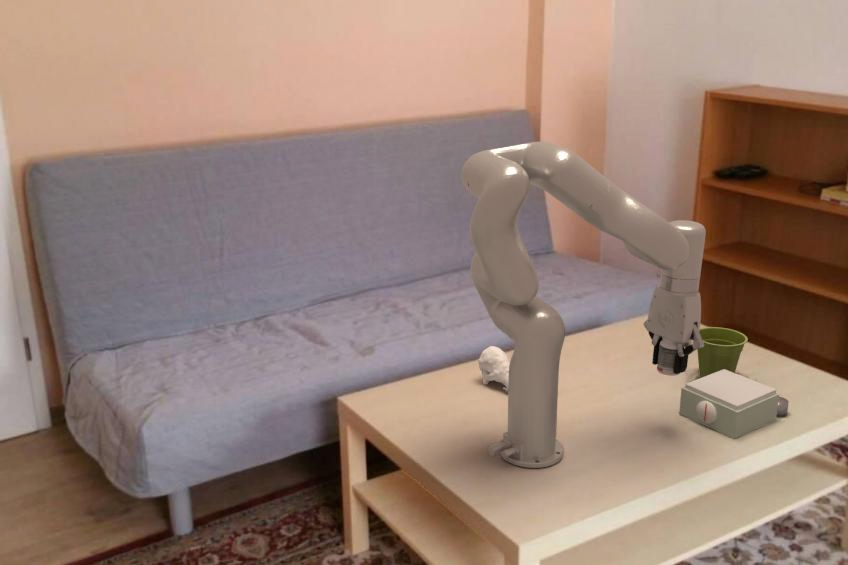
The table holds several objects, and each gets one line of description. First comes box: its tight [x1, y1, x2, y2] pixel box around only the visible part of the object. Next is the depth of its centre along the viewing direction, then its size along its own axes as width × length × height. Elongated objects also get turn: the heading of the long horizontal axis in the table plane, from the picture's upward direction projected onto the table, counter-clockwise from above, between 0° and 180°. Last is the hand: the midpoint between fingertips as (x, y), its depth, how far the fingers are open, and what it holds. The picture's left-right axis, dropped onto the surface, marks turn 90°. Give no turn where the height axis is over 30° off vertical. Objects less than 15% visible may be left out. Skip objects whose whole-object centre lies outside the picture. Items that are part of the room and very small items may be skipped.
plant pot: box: [696, 326, 749, 379], centre depth 204 cm, size 12×12×11 cm
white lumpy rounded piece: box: [477, 345, 510, 393], centre depth 203 cm, size 6×8×12 cm
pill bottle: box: [656, 337, 681, 377], centre depth 180 cm, size 5×5×8 cm
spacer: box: [776, 396, 790, 419], centre depth 190 cm, size 4×4×3 cm
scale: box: [679, 369, 780, 439], centre depth 188 cm, size 15×14×7 cm
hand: (669, 366), depth 181 cm, fingers closed on pill bottle, 4 cm apart
